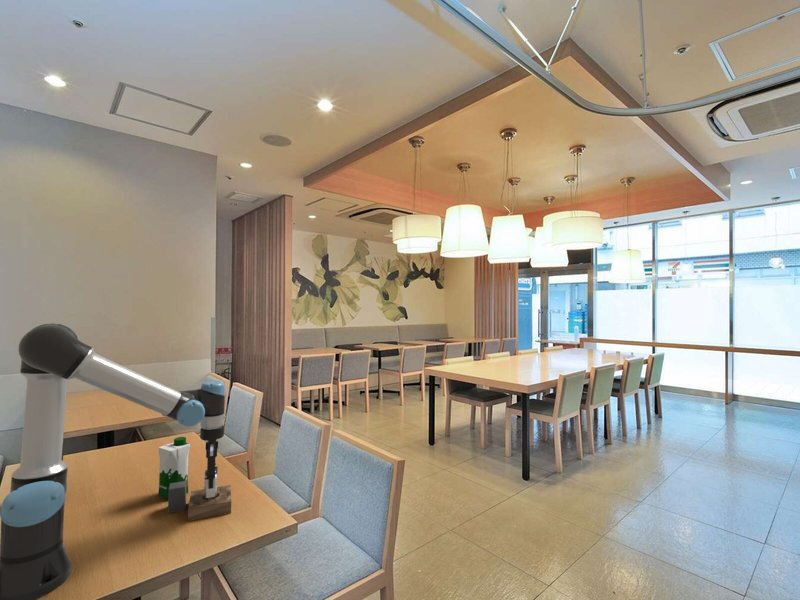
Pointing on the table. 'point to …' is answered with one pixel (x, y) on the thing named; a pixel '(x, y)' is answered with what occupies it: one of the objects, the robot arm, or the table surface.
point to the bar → (177, 497)
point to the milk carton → (173, 465)
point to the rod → (215, 486)
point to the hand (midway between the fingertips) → (210, 493)
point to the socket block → (209, 503)
